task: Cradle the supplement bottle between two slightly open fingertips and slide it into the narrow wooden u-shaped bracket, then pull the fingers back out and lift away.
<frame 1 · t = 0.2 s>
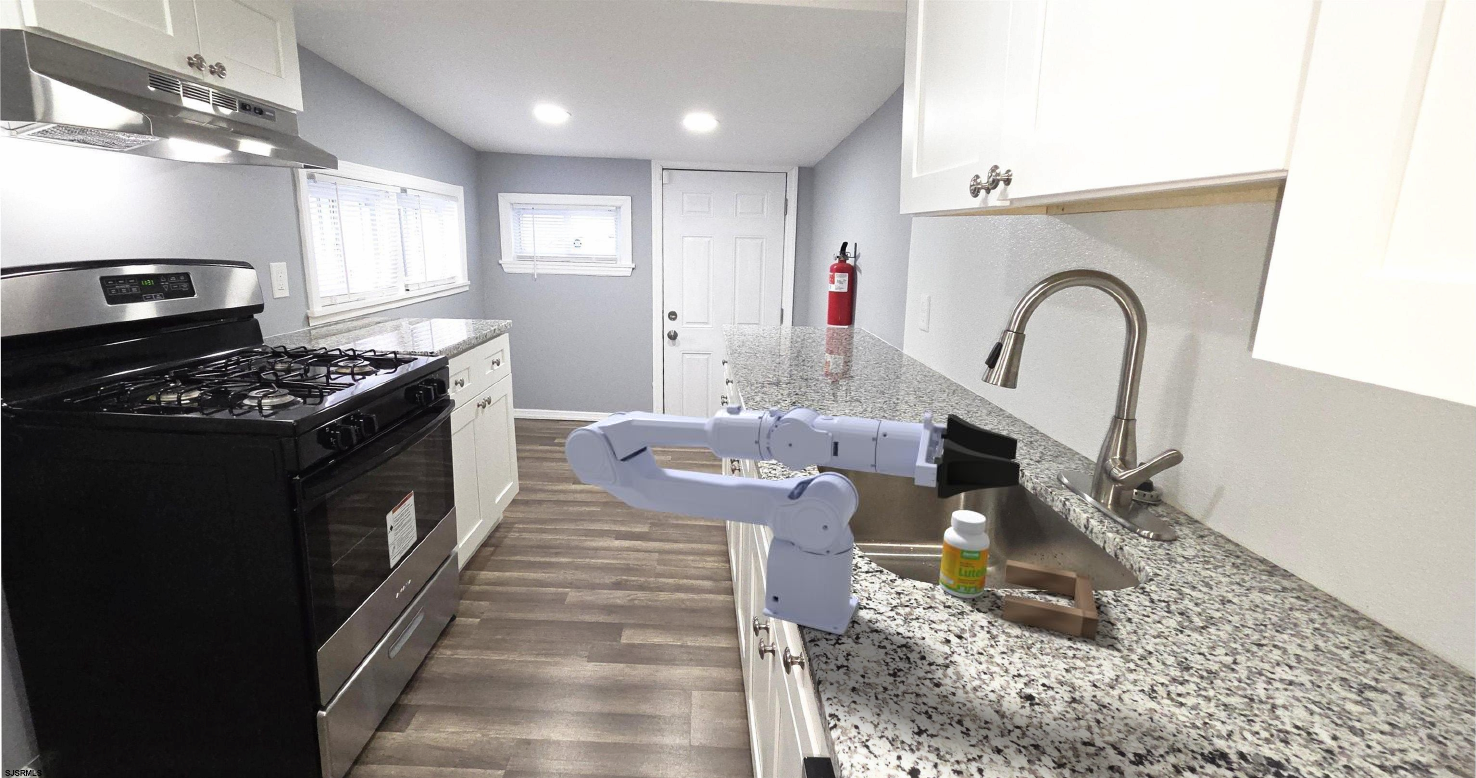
hand: (1017, 461, 65), 21 cm above the worktop, tool horizontal, fingers open, 7 cm apart
supplement bottle: (961, 589, 82), on the worktop
wooden u-shaped bracket: (1039, 604, 79), on the worktop
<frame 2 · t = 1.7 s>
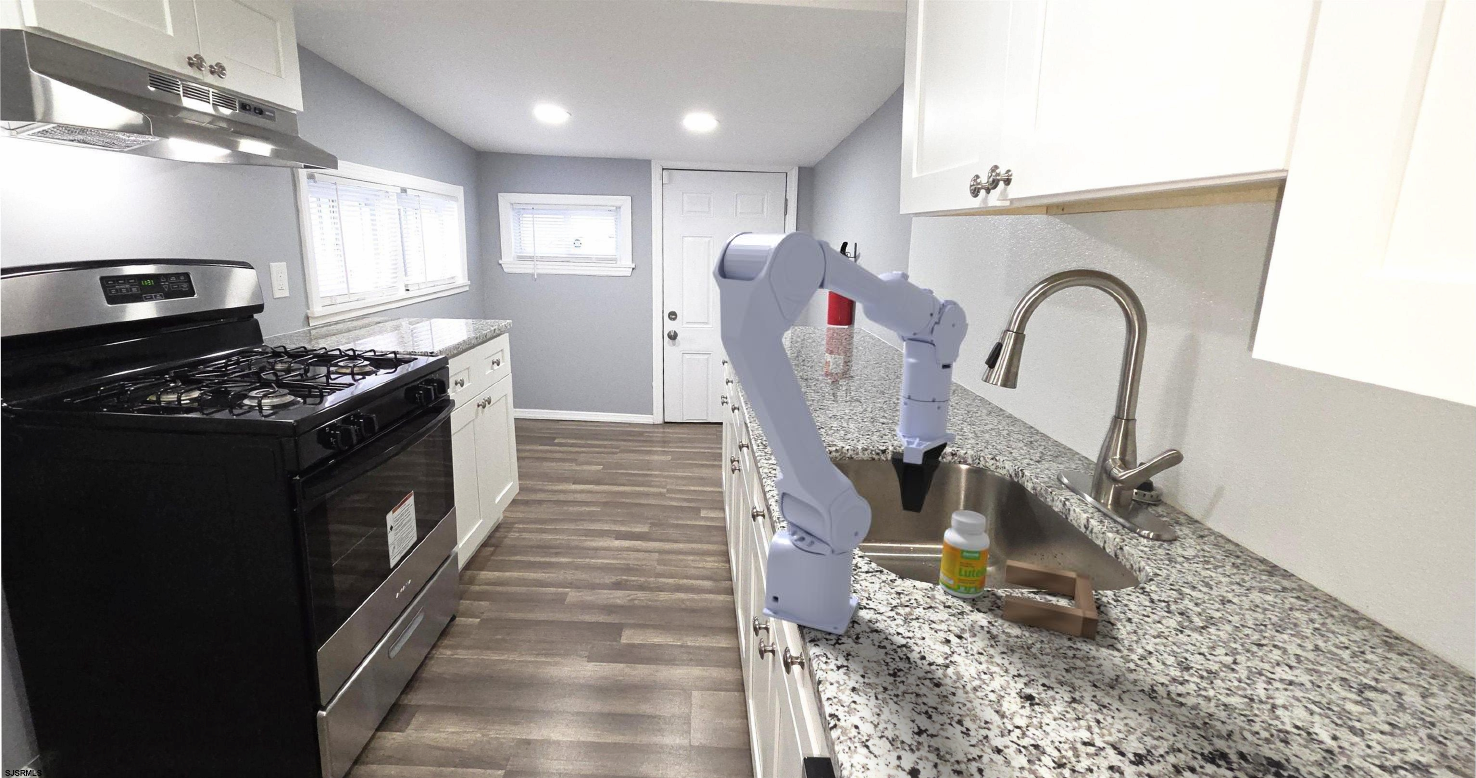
hand: (915, 501, 83), 10 cm above the worktop, tool pointing down, fingers open, 6 cm apart
nothing on the worktop moved.
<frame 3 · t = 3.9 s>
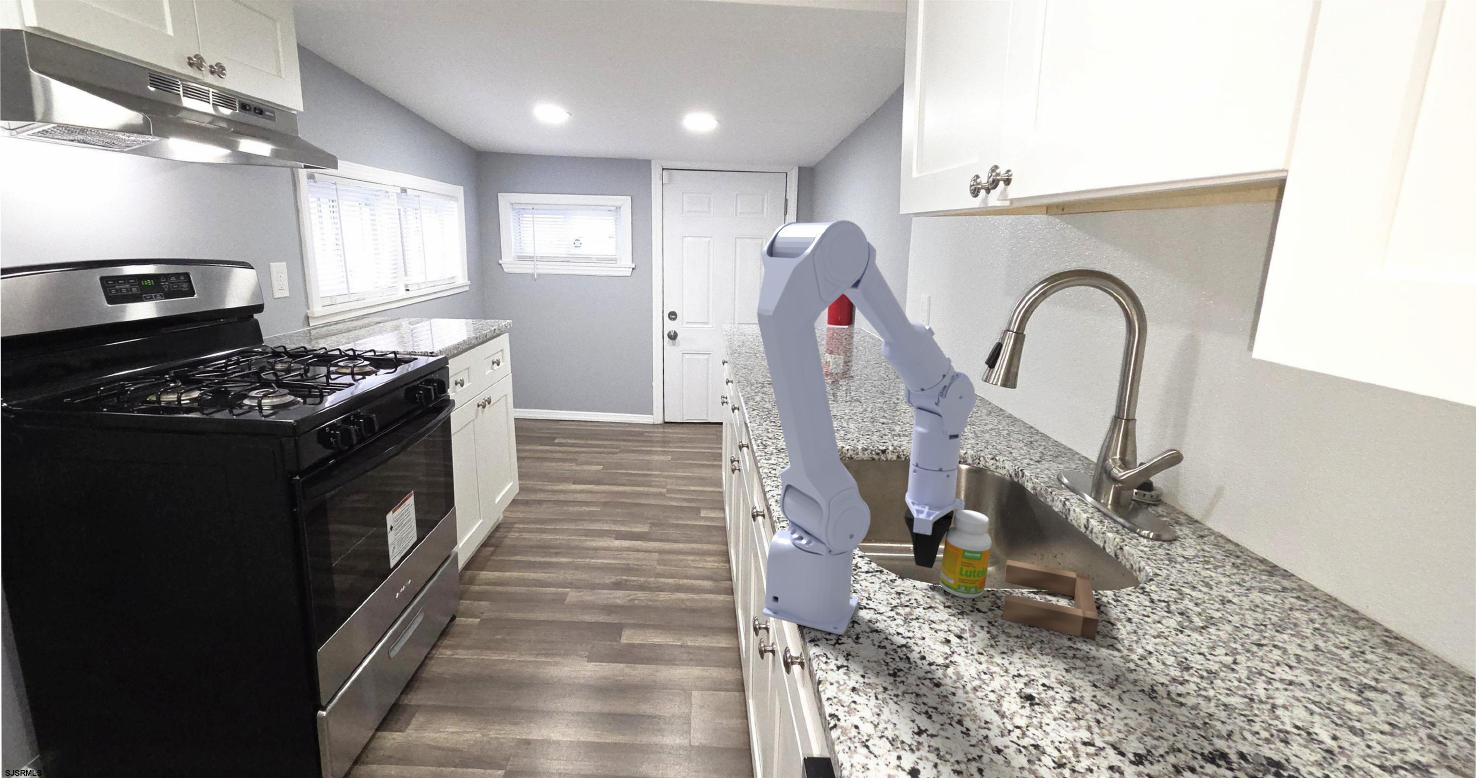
hand: (924, 564, 84), 2 cm above the worktop, tool pointing down, fingers closed, pressing on supplement bottle
supplement bottle: (961, 589, 82), on the worktop, touching gripper
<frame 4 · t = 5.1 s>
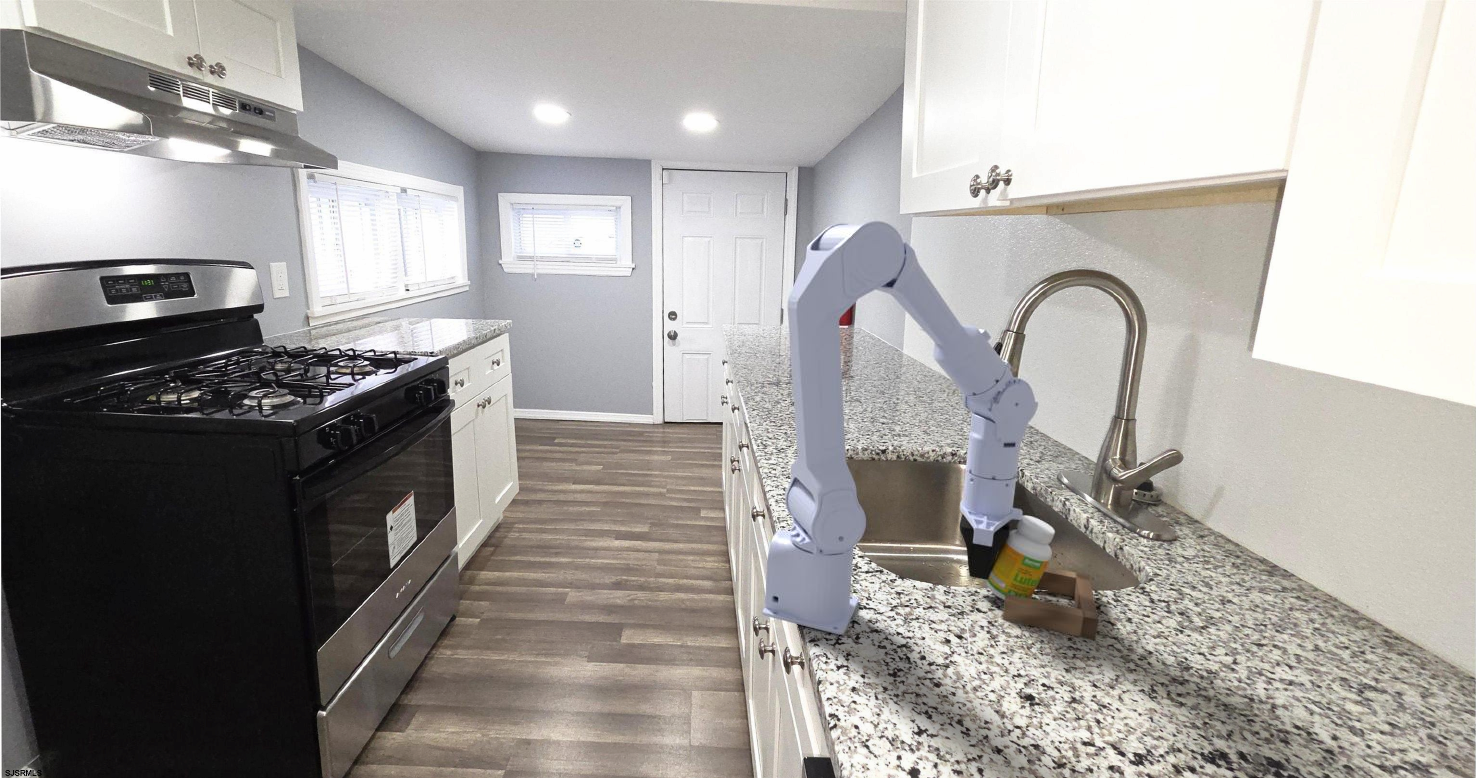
hand: (978, 575, 81), 2 cm above the worktop, tool pointing down, fingers closed, pressing on supplement bottle
supplement bottle: (1005, 593, 80), on the worktop, touching gripper
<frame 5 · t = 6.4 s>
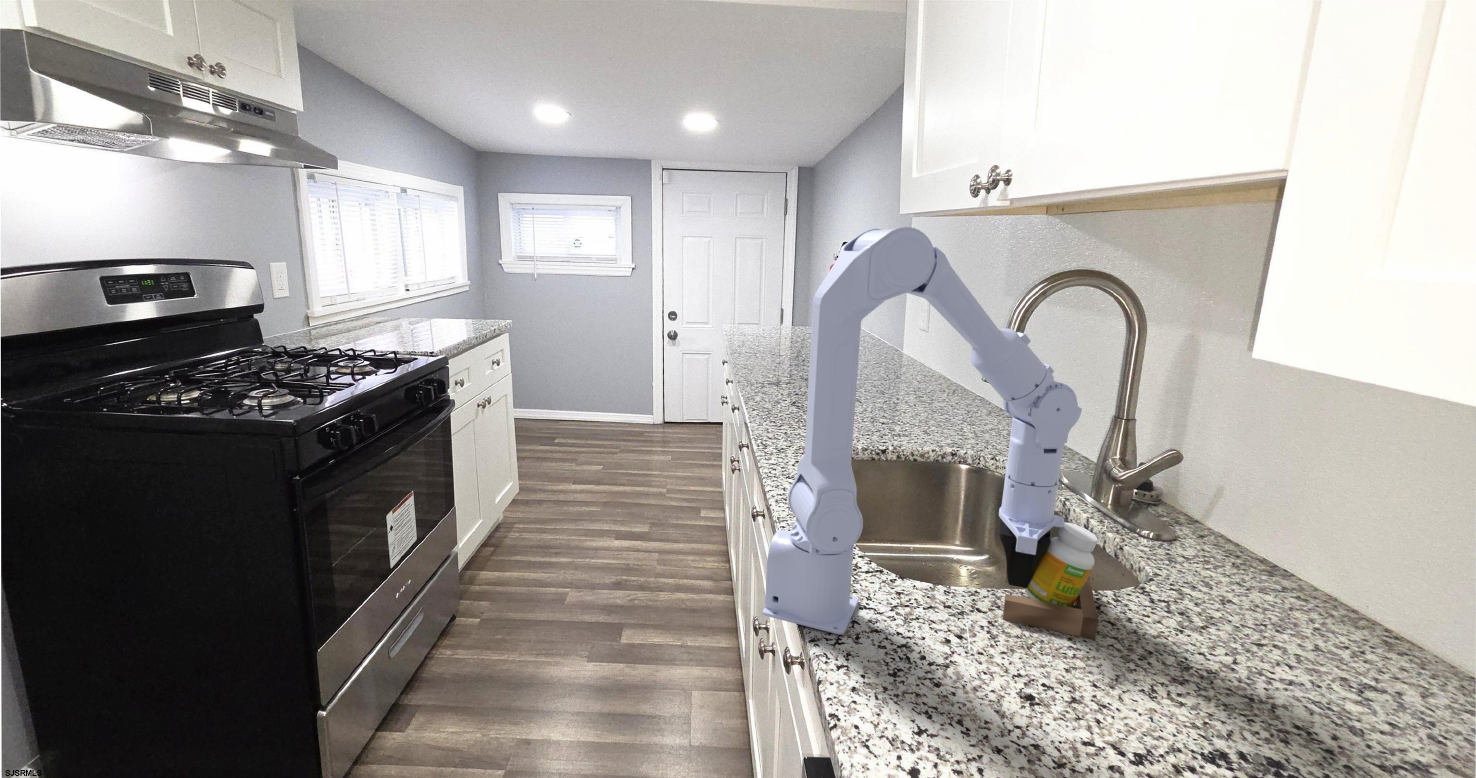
hand: (1017, 583, 79), 2 cm above the worktop, tool pointing down, fingers closed, pressing on supplement bottle
supplement bottle: (1045, 601, 79), on the worktop, touching gripper, wooden u-shaped bracket
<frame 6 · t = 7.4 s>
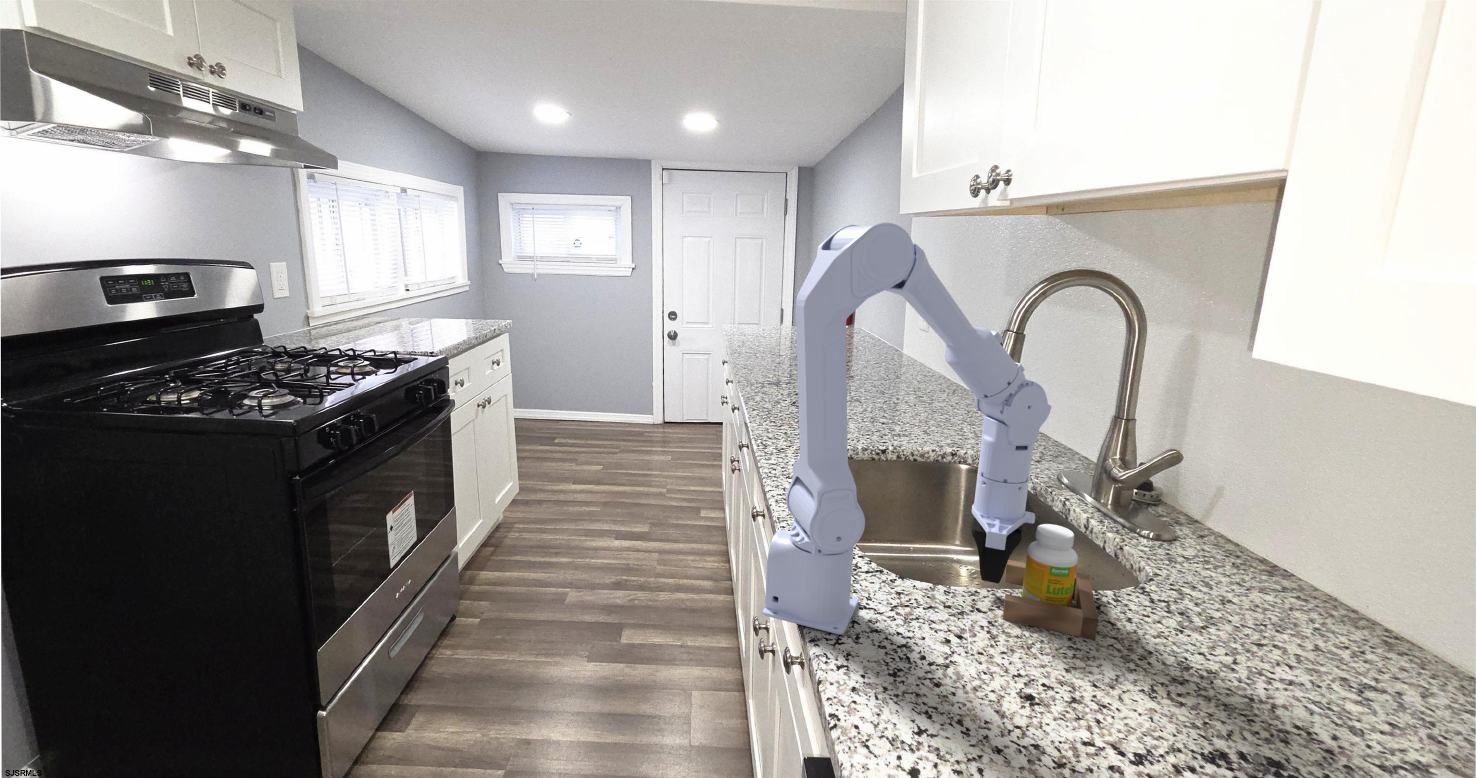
hand: (990, 579, 81), 2 cm above the worktop, tool pointing down, fingers closed
supplement bottle: (1044, 606, 79), on the worktop
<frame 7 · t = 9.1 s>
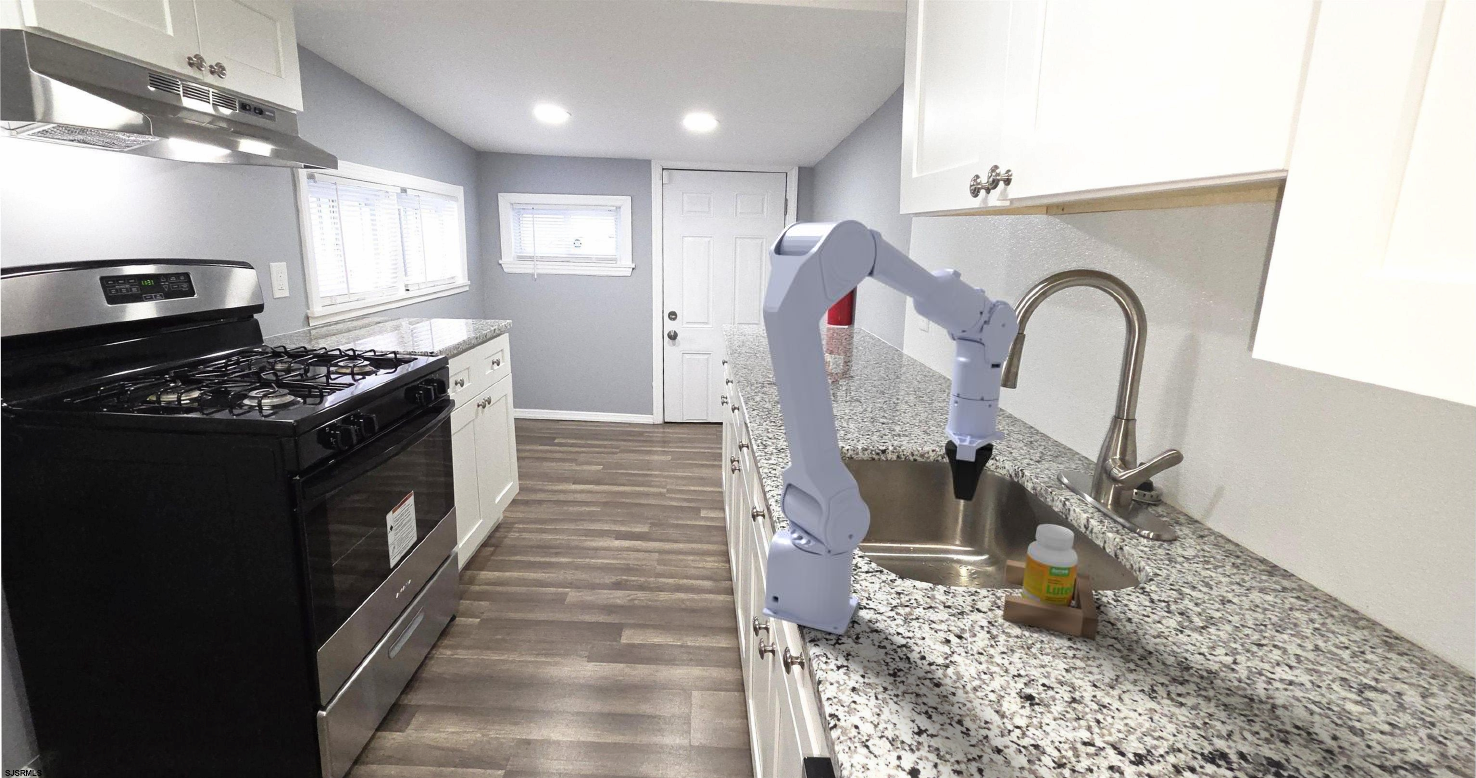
hand: (963, 498, 84), 10 cm above the worktop, tool pointing down, fingers closed
nothing on the worktop moved.
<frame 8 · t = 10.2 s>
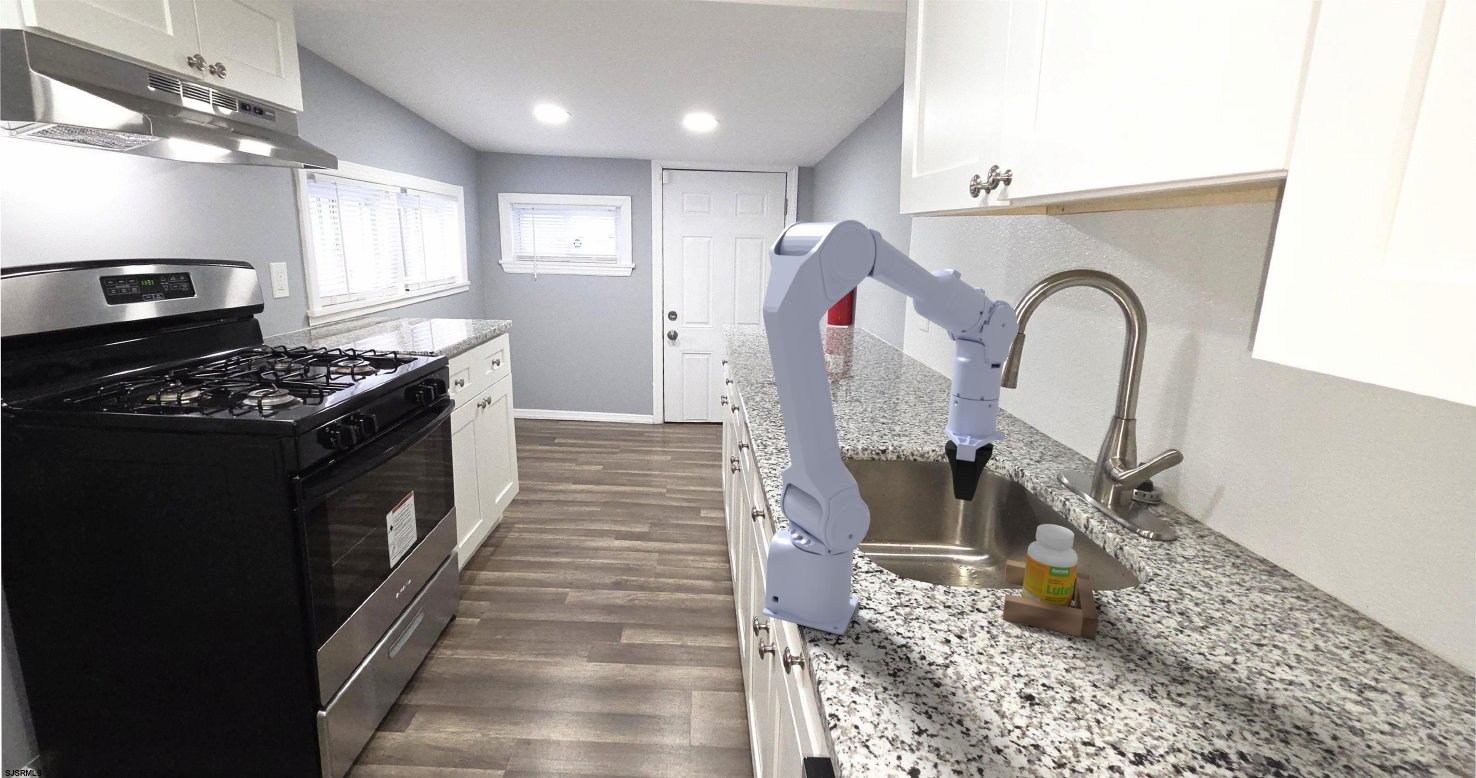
hand: (963, 498, 84), 10 cm above the worktop, tool pointing down, fingers closed
nothing on the worktop moved.
at the end: supplement bottle 0.3 cm off-centre on the wooden u-shaped bracket, point 0.0 cm above the wooden u-shaped bracket's base; supplement bottle tilted 0°; supplement bottle moved 9.6 cm from its start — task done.
